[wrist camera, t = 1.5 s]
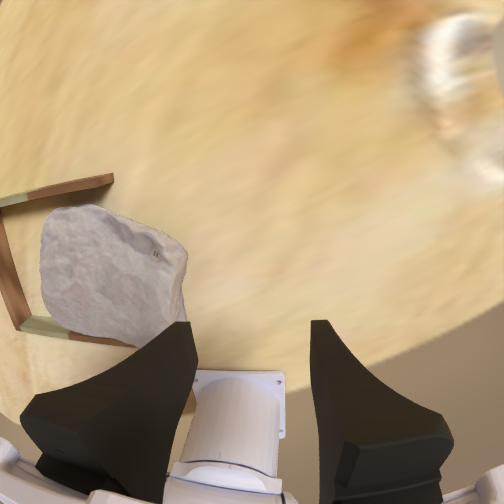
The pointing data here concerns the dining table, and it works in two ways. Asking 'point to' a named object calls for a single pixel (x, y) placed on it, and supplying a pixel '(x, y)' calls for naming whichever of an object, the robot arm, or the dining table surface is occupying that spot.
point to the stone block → (110, 275)
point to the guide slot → (6, 280)
